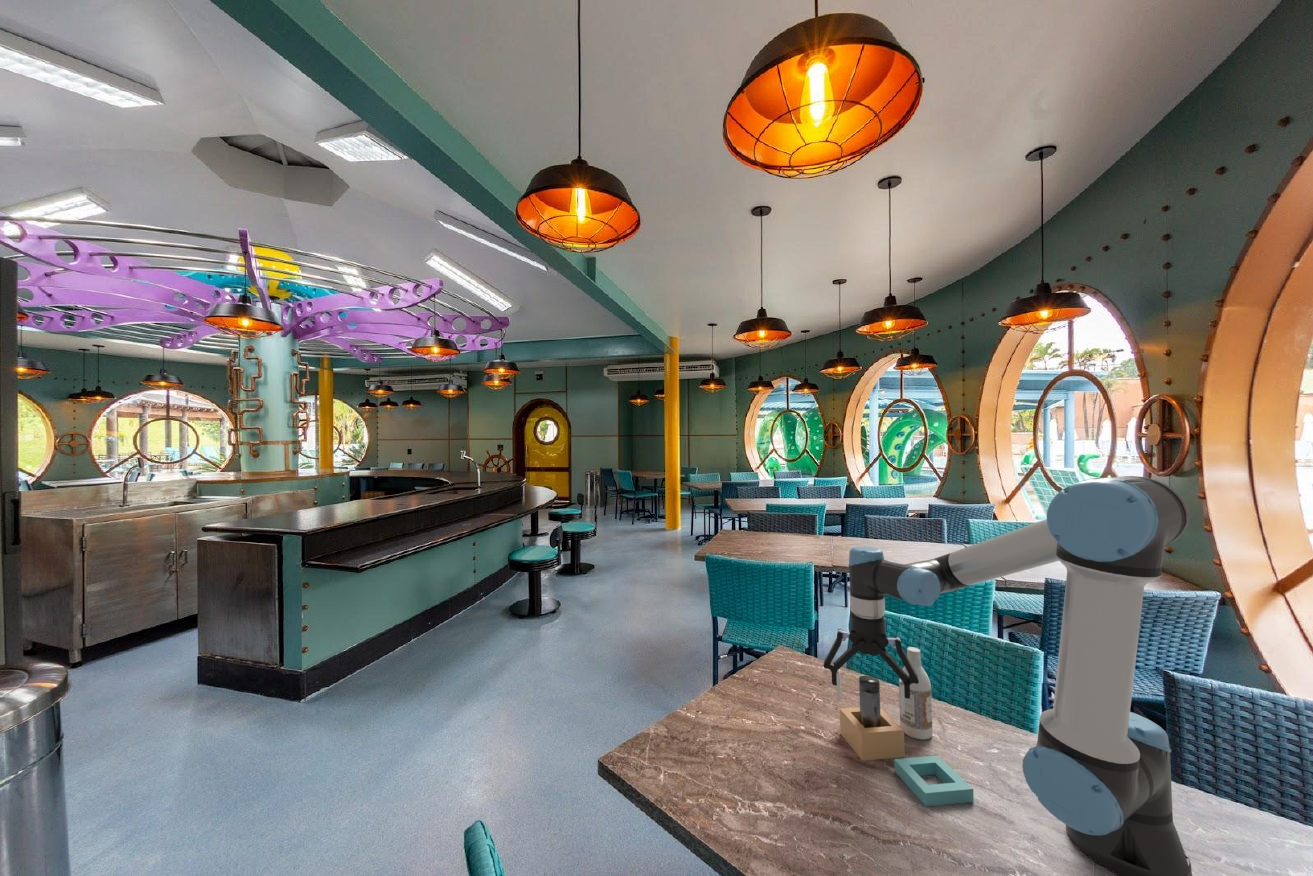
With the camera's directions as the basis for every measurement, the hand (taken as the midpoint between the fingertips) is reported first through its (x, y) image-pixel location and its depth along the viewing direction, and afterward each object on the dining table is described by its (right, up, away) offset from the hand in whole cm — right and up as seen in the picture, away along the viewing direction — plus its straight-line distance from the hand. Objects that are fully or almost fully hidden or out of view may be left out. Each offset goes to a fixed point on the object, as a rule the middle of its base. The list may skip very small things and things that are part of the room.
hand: (870, 705), depth 109 cm
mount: (+6, -9, -14) cm, 17 cm away
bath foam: (+13, -9, +4) cm, 17 cm away
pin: (0, -8, 0) cm, 8 cm away
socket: (0, -9, 0) cm, 9 cm away
